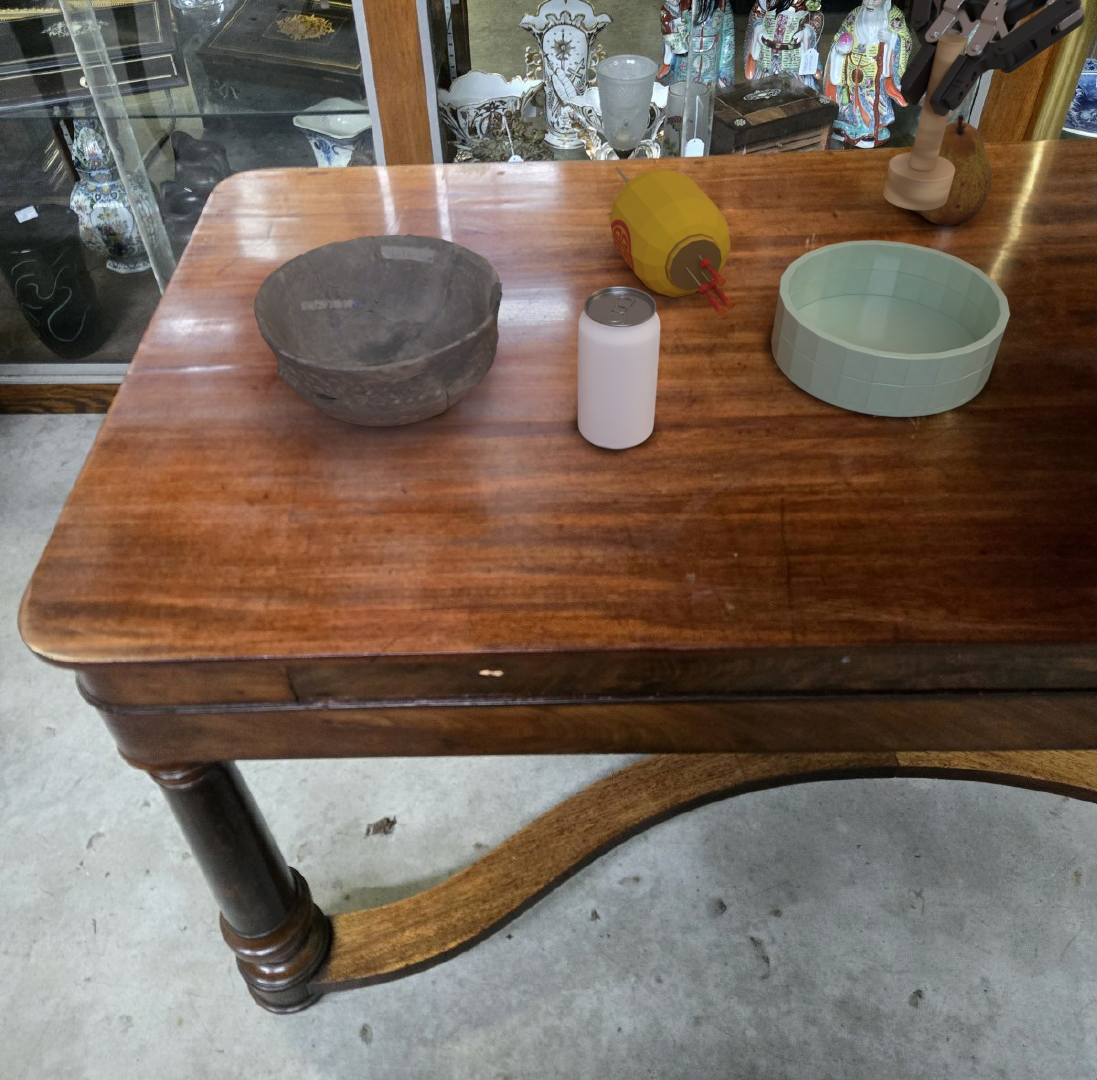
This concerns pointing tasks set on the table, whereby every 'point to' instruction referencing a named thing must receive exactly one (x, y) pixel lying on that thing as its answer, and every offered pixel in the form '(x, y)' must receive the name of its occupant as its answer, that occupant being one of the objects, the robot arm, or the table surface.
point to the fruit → (963, 175)
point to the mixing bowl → (887, 327)
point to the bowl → (382, 326)
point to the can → (617, 367)
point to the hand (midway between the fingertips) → (922, 103)
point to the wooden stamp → (926, 145)
